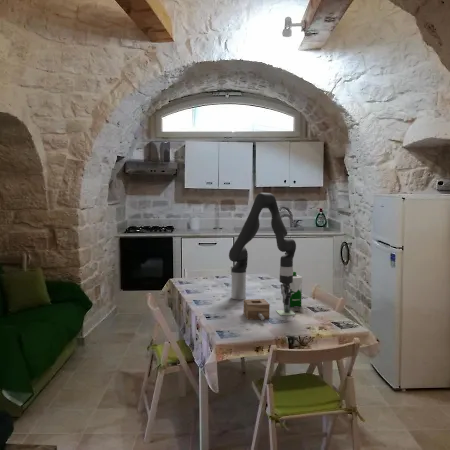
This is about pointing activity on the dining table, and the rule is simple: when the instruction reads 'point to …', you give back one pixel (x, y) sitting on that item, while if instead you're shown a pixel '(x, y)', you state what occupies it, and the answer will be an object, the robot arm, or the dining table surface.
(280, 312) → the pad
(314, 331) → the dining table surface
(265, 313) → the brown wooden block
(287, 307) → the key peg
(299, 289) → the milk carton
